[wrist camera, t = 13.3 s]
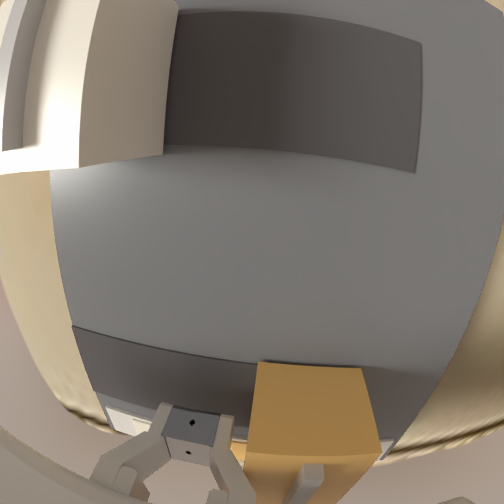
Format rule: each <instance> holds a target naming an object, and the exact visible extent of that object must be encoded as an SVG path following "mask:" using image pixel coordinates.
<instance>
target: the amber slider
mask: <svg viewBox="0 0 504 504" xmlns="http://www.w3.org/2000/svg"><path fill="white" fill-rule="evenodd" d="M381 454H382V449H381V444H380V440H379V436H378V431H377V427H376V423H375V419H374V415H373V411H372V407H371V403H370V399H369V395H368V391H367V388H366V384H365V380H364V377H363V373H362V370H361V368H337V367H317V366H302V365H289V364H278V363H268V362H259V361H258V366H257V374H256V381H255V389H254V396H253V404H252V411H251V418H250V425H249V432H248V439H247V446H246V453H245V460H244V467H243V472H244V474H245V476H246V478H247V479H248V481H249V483H250V484H251V486H252V488H253V489H254V491H255V493H256V501H255V504H336V503H337V502H338V501H339V500H340V499H341V498H342V497H343V496H344V495H345V494H346V493H347V492H348V491H349V490H350V489H351V488H352V487H353V486H354V485H355V484H356V483H357V482H358V480H359V479H360V478H361V477H362V476H363V475H364V474H365V473H366V472H367V470H368V469H369V468H370V467H371V466H372V465H373V463H374V462H375V461H376V460H377V459H378V457H379V456H380V455H381Z"/></svg>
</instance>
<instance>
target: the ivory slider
mask: <svg viewBox="0 0 504 504" xmlns="http://www.w3.org/2000/svg"><path fill="white" fill-rule="evenodd" d="M178 11H179V6H178V4H177V3H176V2H175V1H174V0H6V1H5V2H3V3H2V5H1V8H0V174H7V173H16V172H27V171H39V170H53V169H70V168H82V167H87V166H92V165H98V164H103V163H109V162H115V161H122V160H128V159H135V158H142V157H150V156H158V155H163V142H164V126H165V112H166V100H167V89H168V80H169V71H170V63H171V55H172V48H173V41H174V34H175V28H176V22H177V16H178Z"/></svg>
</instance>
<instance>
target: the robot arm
mask: <svg viewBox="0 0 504 504" xmlns="http://www.w3.org/2000/svg"><path fill="white" fill-rule="evenodd" d="M233 430H234V416H232V415H224V414H220V413H214V412H207V411H201V410H194V409H190V408H185V407H181V406H177V405H173V404H169V403H165V402H162V403H161V404H160V405H159V407H158V409H157V412H156V414H155V416H154V418H153V421H152V423H151V425H150V427H149V430H148V432H146V431H144V432H142V433H140V434H138V435H137V436H135V437H134V438H132V439H130V440H128V441H127V442H125V443H123V444H121V445H120V446H118V447H116V448H114V449H113V450H111V451H109V452H107V453H105V454H103V455H102V456H101V457H100V459H99V461H98V463H97V465H96V467H95V469H94V471H93V473H92V475H91V477H90V479H87V478H84V477H83V476H80V475H78V474H76V473H74V472H72V471H71V470H69V469H67V468H65V467H63V466H61V465H59V464H57V463H56V462H54V461H52V460H50V459H49V458H47V457H45V456H43V455H42V454H40V453H39V452H37V451H36V450H34V449H32V448H31V447H29V446H28V445H26V444H25V443H23V442H22V441H20V440H19V439H17V438H16V437H15V436H13V435H12V434H10V433H9V432H8V431H6V430H5V429H4V428H2V427H1V426H0V504H152V503H148V502H147V501H148V498H149V495H150V493H149V491H148V490H147V488H146V487H145V485H144V483H143V480H145V479H146V478H147V477H149V476H150V475H151V474H153V473H154V472H155V471H157V470H158V469H159V468H160V467H162V466H163V465H164V464H165V463H167V462H168V461H169V460H170V459H171V458H173V459H177V460H182V461H187V462H191V463H195V464H200V465H205V466H209V467H210V469H211V471H212V473H213V475H214V478H215V480H216V482H217V484H218V487H219V489H220V490H216V489H213V490H211V491H209V495H208V499H207V503H206V504H255V501H256V493H255V491H254V489H253V488H252V486H251V484H250V483H249V481H248V479H247V478H246V476H245V474H244V472H243V470H242V469H241V467H240V465H239V463H238V461H237V460H236V458H235V456H234V454H233V452H232V450H231V445H232V438H233ZM439 504H475V503H473V502H472V501H470V500H469V499H467V498H465V497H457V498H454V499H451V500H448V501H445V502H442V503H439Z"/></svg>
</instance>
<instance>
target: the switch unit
mask: <svg viewBox="0 0 504 504" xmlns="http://www.w3.org/2000/svg"><path fill="white" fill-rule="evenodd" d="M174 1H175V2H176V3H177V4H178V6H179V11H178V16H177V22H176V28H175V34H174V41H173V48H172V55H171V63H170V71H169V80H168V89H167V100H166V112H165V126H164V142H163V155H158V156H150V157H142V158H135V159H128V160H122V161H115V162H109V163H103V164H98V165H92V166H87V167H82V168H70V169H53V170H50V190H51V205H52V216H53V226H54V234H55V242H56V249H57V255H58V261H59V267H60V272H61V277H62V282H63V287H64V292H65V296H66V301H67V305H68V309H69V313H70V317H71V320H72V324H73V325H72V329H73V333H74V336H75V339H76V343H77V346H78V349H79V352H80V355H81V358H82V361H83V364H84V367H85V370H86V372H87V375H88V378H89V380H90V383H91V386H92V388H93V391H95V392H96V395H97V397H98V400H99V402H100V404H101V407H102V409H103V411H104V414H105V416H106V418H107V420H108V422H109V424H110V427H111V428H113V429H115V430H117V431H120V432H123V433H126V434H129V435H132V436H137V435H138V434H140V433H142V432H144V431H146V432H148V430H149V427H150V425H151V423H152V421H153V418H154V416H155V414H156V412H157V409H158V407H159V405H160V404H161V403H162V402H165V403H169V404H173V405H177V406H181V407H185V408H190V409H194V410H201V411H207V412H214V413H220V414H224V415H232V416H234V430H233V438H232V445H231V450H232V452H233V454H234V456H235V458H236V460H245V453H246V446H247V439H248V432H249V425H250V418H251V411H252V404H253V396H254V389H255V381H256V374H257V366H258V361H259V362H268V363H278V364H289V365H302V366H317V367H337V368H361V370H362V373H363V377H364V380H365V384H366V388H367V391H368V395H369V399H370V403H371V407H372V411H373V415H374V419H375V423H376V427H377V431H378V436H379V440H380V444H381V449H382V454H381V455H380V456H379V457H378V459H377V460H376V461H379V460H383V459H384V458H385V457H386V456H387V454H388V453H389V452H390V451H391V450H392V448H393V447H394V446H395V445H396V443H397V442H398V441H399V439H400V438H401V437H402V436H403V434H404V433H405V432H406V430H407V429H408V428H409V426H410V425H411V423H412V422H413V421H414V419H415V418H416V416H417V415H418V413H419V412H420V410H421V409H422V407H423V406H424V404H425V403H426V401H427V400H428V398H429V397H430V395H431V393H432V392H433V390H434V389H435V387H436V385H437V384H438V382H439V380H440V378H441V377H442V375H443V373H444V371H445V370H446V368H447V366H448V364H449V362H450V360H451V359H452V357H453V355H454V353H455V351H456V349H457V347H458V345H459V343H460V341H461V339H462V337H463V334H464V332H465V330H466V328H467V326H468V323H469V321H470V319H471V317H472V314H473V312H474V309H475V307H476V304H477V302H478V299H479V297H480V294H481V291H482V289H483V286H484V283H485V280H486V277H487V274H488V271H489V268H490V265H491V262H492V258H493V255H494V252H495V248H496V244H497V241H498V237H499V233H500V229H501V224H502V220H503V215H504V16H503V12H502V11H500V10H499V9H497V8H496V7H494V6H492V5H491V4H489V3H488V2H486V1H484V0H174Z"/></svg>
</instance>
